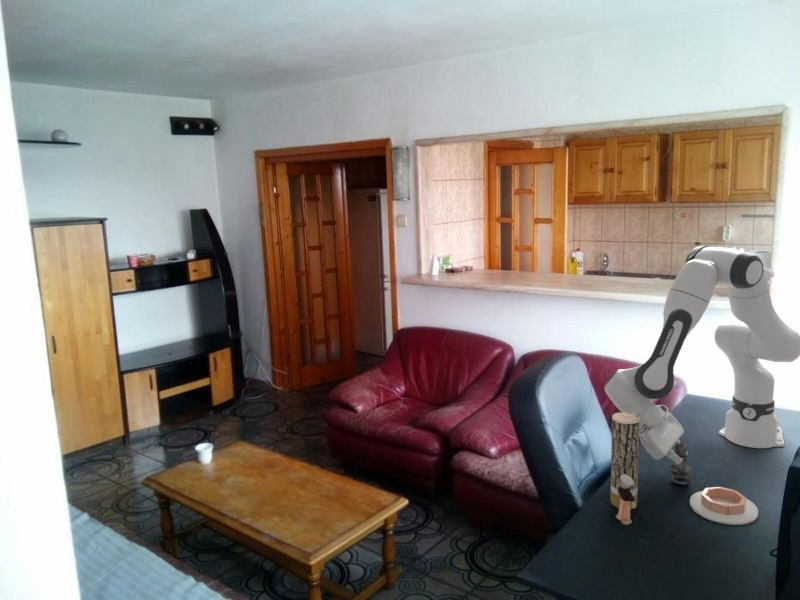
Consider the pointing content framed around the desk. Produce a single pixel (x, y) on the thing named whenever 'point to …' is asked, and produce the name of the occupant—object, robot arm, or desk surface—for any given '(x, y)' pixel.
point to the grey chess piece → (680, 466)
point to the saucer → (723, 506)
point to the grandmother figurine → (625, 499)
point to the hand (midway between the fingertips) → (683, 459)
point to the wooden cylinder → (624, 453)
